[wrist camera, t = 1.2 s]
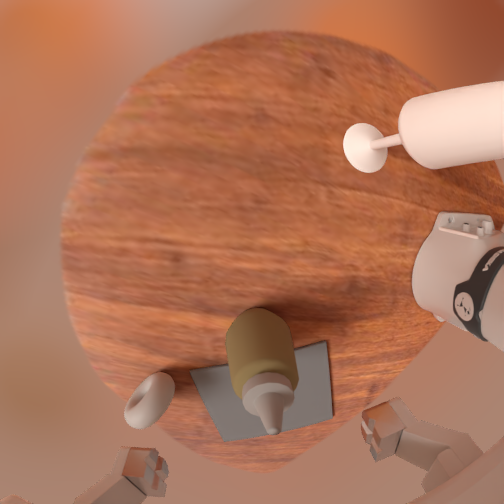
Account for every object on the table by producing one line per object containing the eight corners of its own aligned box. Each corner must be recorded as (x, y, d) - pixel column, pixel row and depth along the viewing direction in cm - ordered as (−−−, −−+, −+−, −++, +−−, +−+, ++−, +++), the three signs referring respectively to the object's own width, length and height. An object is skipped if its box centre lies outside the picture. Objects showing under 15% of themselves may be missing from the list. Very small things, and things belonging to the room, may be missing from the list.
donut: (166, 356, 36) (150, 402, 26) (184, 370, 36) (173, 418, 27) (131, 386, 37) (112, 428, 27) (147, 398, 37) (132, 442, 28)
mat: (325, 340, 36) (326, 341, 36) (331, 416, 41) (332, 418, 40) (189, 369, 36) (189, 371, 36) (224, 439, 40) (224, 441, 40)
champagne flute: (335, 129, 30) (483, 61, 7) (377, 118, 30) (522, 68, 7) (353, 179, 32) (520, 182, 8) (393, 165, 31) (550, 161, 8)
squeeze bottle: (298, 322, 36) (343, 418, 18) (258, 360, 37) (274, 464, 19) (253, 286, 34) (272, 380, 16) (213, 330, 35) (201, 435, 17)
